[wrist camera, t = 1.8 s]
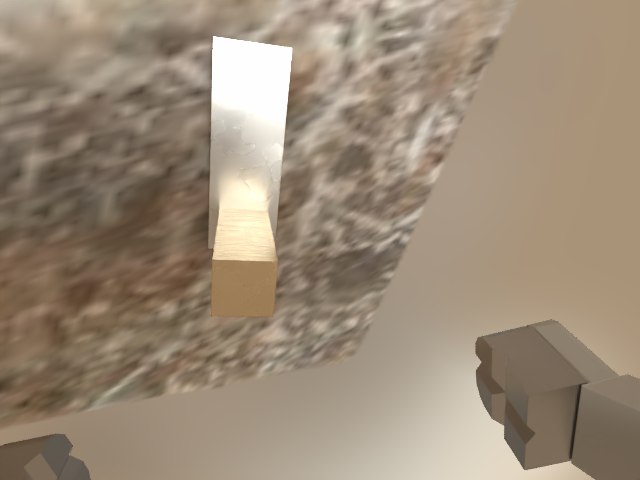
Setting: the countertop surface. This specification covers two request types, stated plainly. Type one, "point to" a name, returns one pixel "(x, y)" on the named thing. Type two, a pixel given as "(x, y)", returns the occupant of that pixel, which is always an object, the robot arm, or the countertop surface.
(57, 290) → the countertop surface
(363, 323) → the countertop surface
